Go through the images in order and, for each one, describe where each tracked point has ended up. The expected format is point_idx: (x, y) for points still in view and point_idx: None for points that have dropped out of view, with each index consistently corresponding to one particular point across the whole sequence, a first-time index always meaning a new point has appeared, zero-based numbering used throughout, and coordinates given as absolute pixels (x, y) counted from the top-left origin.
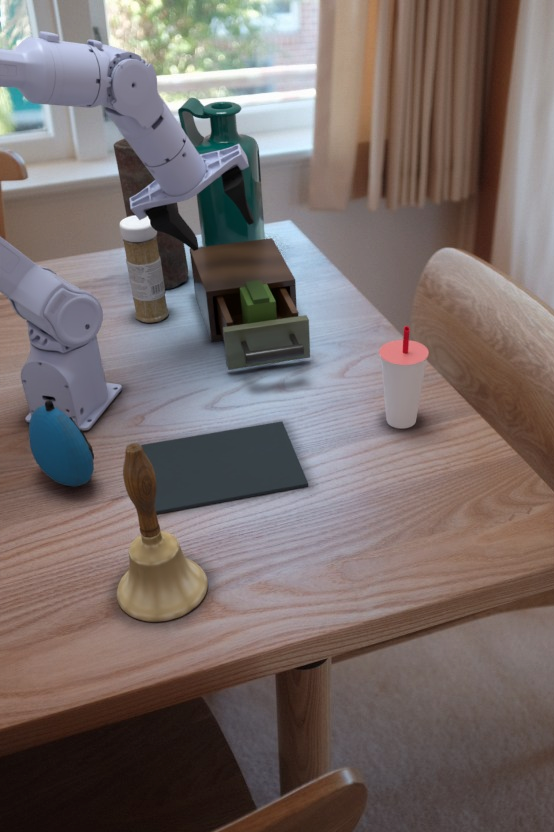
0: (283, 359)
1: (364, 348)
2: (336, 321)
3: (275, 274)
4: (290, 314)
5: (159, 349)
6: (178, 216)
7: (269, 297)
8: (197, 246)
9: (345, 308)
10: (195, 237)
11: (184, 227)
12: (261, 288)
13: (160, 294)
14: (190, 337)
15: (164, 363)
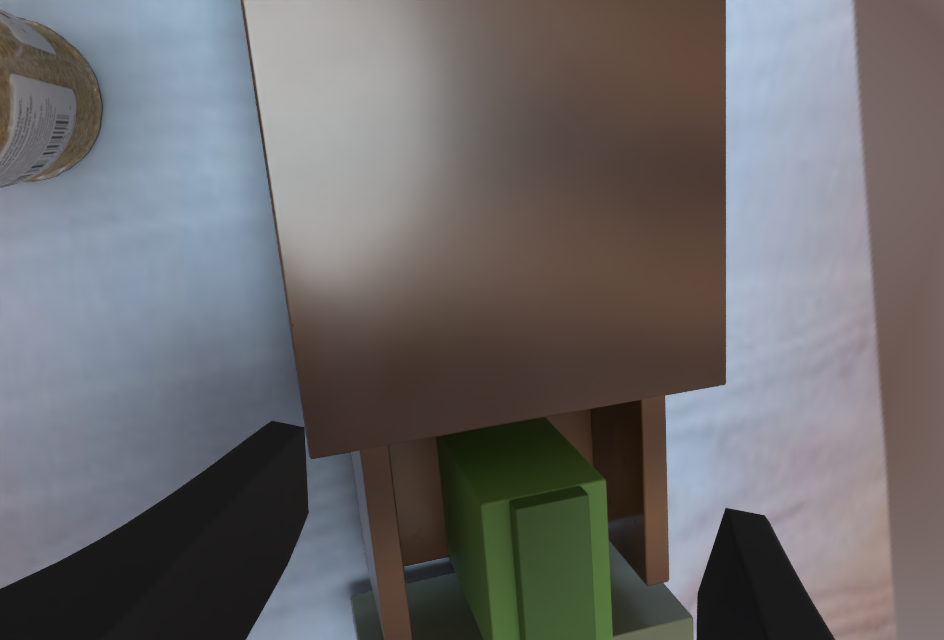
0: None
1: (783, 473)
2: (752, 288)
3: (655, 320)
4: (636, 547)
5: (81, 406)
6: (167, 635)
7: (595, 606)
8: (303, 514)
9: (805, 196)
10: (295, 459)
11: (219, 599)
12: (579, 579)
13: (51, 160)
14: (212, 327)
15: (111, 511)
